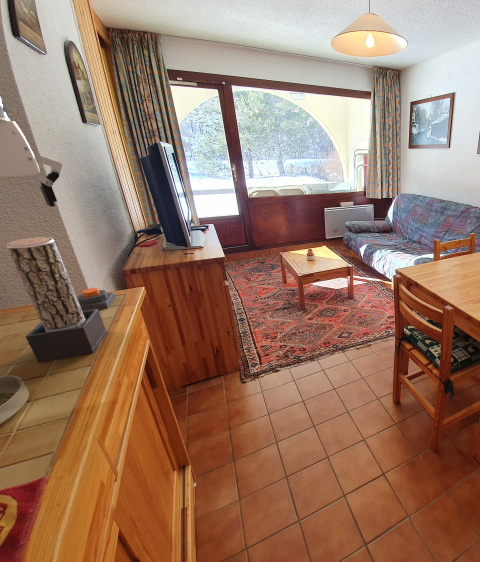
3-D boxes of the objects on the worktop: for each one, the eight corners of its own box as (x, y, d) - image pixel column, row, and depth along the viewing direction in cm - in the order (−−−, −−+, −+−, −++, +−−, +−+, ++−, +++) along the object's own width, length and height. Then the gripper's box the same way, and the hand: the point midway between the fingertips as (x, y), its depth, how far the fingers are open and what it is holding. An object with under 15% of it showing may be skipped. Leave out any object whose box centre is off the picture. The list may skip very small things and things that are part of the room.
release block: (73, 313, 88) (68, 302, 87) (83, 301, 95) (79, 291, 93) (107, 308, 91) (104, 297, 90) (115, 297, 98) (112, 287, 96)
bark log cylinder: (52, 355, 69) (2, 247, 59) (55, 342, 74) (9, 240, 64) (92, 344, 73) (51, 242, 63) (93, 332, 78) (54, 235, 68)
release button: (82, 299, 89) (79, 293, 89) (86, 294, 92) (84, 288, 92) (97, 297, 91) (95, 291, 90) (101, 292, 94) (99, 287, 93)
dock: (38, 363, 68) (25, 336, 65) (58, 340, 76) (47, 315, 73) (93, 352, 71) (83, 327, 69) (106, 332, 79) (98, 308, 77)
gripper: (39, 116, 63) (70, 202, 69) (-111, 106, 50) (-55, 213, 57) (47, 114, 59) (80, 205, 65) (-113, 103, 46) (-52, 218, 53)
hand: (18, 209), depth 61 cm, fingers open, 9 cm apart
